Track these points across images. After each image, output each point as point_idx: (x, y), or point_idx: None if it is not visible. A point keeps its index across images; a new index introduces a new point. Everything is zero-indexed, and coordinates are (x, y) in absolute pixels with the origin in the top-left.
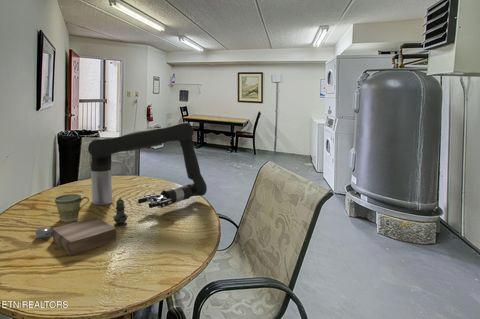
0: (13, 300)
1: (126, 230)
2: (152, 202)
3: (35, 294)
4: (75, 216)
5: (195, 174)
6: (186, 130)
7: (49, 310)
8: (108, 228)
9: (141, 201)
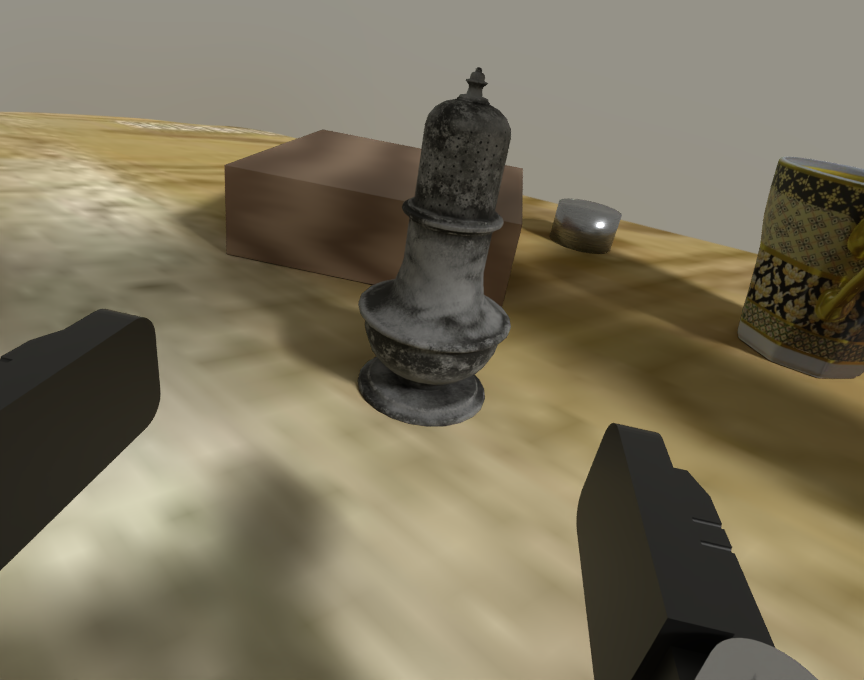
0: (266, 134)
1: (272, 334)
2: (60, 353)
3: (237, 137)
4: (761, 321)
5: None
6: None
7: (153, 121)
8: (273, 165)
9: (597, 537)
